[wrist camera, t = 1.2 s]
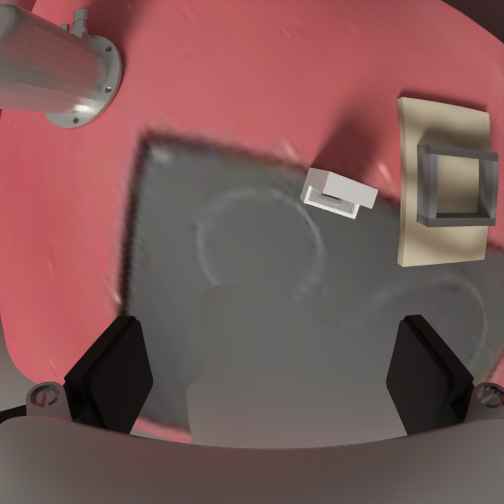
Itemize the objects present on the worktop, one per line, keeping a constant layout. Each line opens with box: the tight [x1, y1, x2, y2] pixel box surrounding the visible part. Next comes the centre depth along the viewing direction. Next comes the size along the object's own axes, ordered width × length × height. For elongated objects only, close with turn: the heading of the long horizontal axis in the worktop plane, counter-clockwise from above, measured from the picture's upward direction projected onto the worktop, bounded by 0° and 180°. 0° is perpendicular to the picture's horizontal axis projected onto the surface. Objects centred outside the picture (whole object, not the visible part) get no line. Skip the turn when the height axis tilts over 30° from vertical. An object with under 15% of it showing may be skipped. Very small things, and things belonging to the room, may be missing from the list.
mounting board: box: [397, 97, 498, 267], centre depth 30 cm, size 20×14×4 cm
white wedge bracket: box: [300, 168, 378, 219], centre depth 30 cm, size 4×10×9 cm
